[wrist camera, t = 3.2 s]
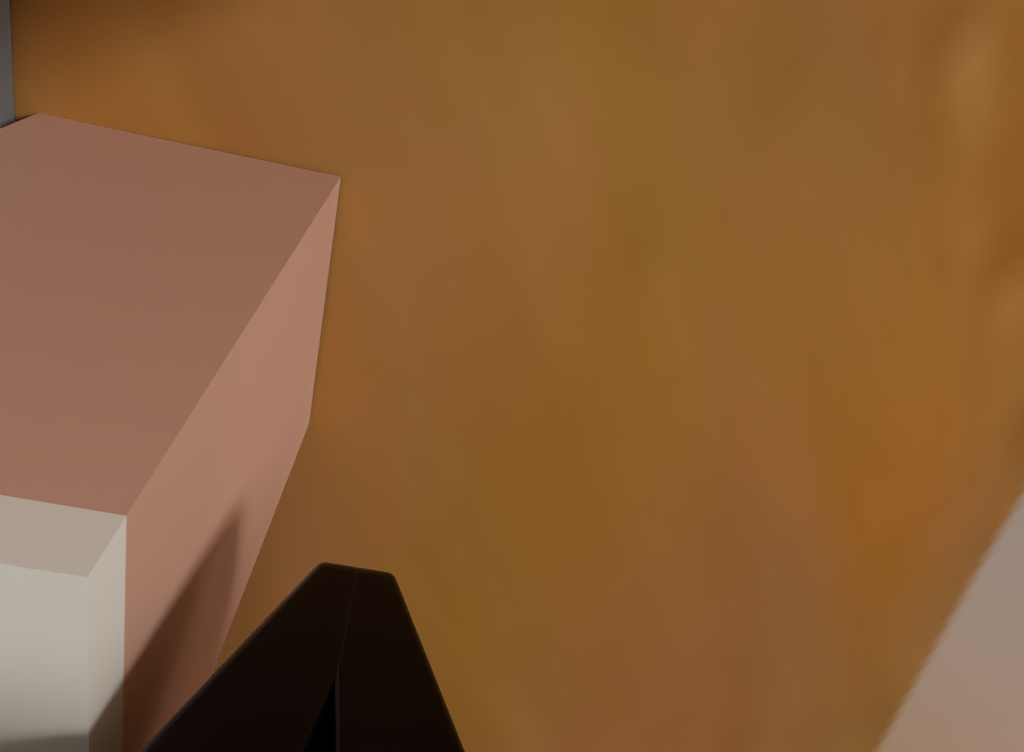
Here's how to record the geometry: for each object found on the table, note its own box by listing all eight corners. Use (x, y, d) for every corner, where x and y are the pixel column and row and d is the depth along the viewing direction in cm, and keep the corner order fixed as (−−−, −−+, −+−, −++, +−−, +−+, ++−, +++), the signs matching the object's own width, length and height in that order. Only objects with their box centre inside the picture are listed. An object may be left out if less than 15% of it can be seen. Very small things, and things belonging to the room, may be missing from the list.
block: (309, 423, 15) (91, 986, 7) (45, 376, 15) (-502, 922, 7) (340, 176, 13) (86, 577, 5) (37, 113, 13) (-758, 445, 5)
